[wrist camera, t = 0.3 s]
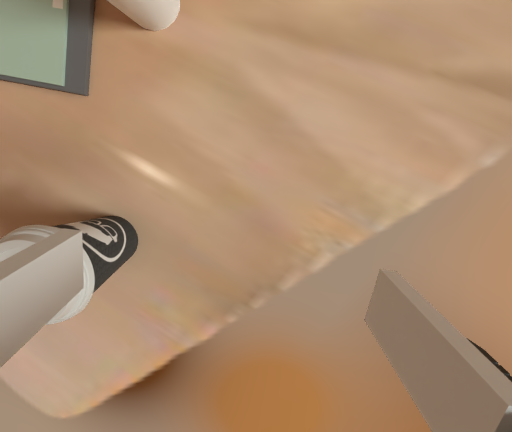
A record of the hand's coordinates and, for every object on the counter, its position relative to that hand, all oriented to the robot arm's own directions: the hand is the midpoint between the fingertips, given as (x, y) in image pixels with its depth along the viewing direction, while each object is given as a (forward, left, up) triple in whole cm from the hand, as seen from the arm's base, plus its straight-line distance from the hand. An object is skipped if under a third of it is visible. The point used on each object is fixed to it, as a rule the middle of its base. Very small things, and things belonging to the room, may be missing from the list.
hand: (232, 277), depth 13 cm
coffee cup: (+8, -18, -26) cm, 32 cm away
